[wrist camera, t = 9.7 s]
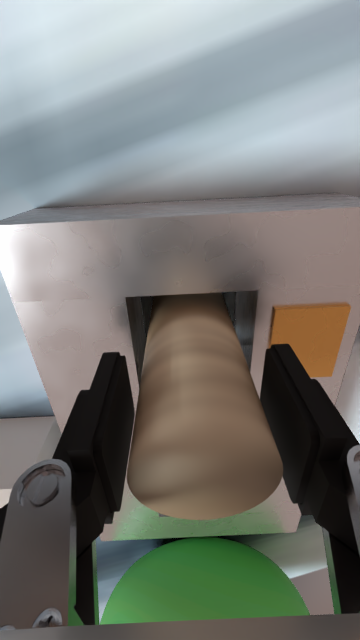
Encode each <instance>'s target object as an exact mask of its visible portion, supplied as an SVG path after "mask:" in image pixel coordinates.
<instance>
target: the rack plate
mask: <svg viewBox="0 0 360 640" xmlns="http://www.w3.org/2000/svg"><path fill="white" fill-rule="evenodd" d="M0 269H1V272H2V275H3V277H4V280H5V283H6V286H7V288H8V291H9V294H10V296H11V299H12V302H13V304H14V307H15V310H16V312H17V315H18V318H19V321H20V323H21V326H22V329H23V331H24V334H25V337H26V339H27V342H28V345H29V347H30V350H31V353H32V356H33V358H34V361H35V364H36V366H37V369H38V372H39V374H40V377H41V380H42V382H43V385H44V388H45V391H46V393H47V396H48V399H49V401H50V404H51V407H52V409H53V412H54V415H55V417H56V420H57V423H58V426H59V428H60V431H61V434H62V433H63V430H64V428H65V425H66V423H67V420H68V418H69V415H70V413H71V410H72V408H73V406H74V403H75V401H76V398H77V396H78V394H79V392H80V391H81V390H89V389H90V386H91V384H92V381H93V378H94V376H95V373H96V370H97V367H98V365H99V362H100V359H101V356H102V354H103V353H104V352H119V353H120V356H123V355H125V357H126V362H127V368H128V374H129V379H130V385H131V391H132V397H133V402H134V409H135V415H136V408H137V401H138V395H139V388H140V381H141V375H142V368H143V361H144V354H145V348H146V335H145V327H144V319H143V311H142V303H141V296H157V295H177V294H197V293H217V292H236V307H235V324H234V329H235V332H236V335H237V337H238V340H239V343H240V346H241V348H242V351H243V354H244V357H245V360H246V362H247V365H248V368H249V371H250V374H251V376H252V379H253V382H254V385H255V387H256V390H257V393H258V396H259V399H260V392H261V384H262V376H263V368H264V360H265V352H266V349H267V348H271V345H272V344H289V345H290V346H291V348H292V349H293V351H294V353H295V354H296V356H297V357H298V359H299V361H300V362H301V364H302V365H303V367H304V369H305V370H306V372H307V373H308V375H309V377H310V378H311V379H316V380H317V381H318V382H319V383H320V384H321V386H322V387H323V389H324V390H325V392H326V393H327V395H328V397H329V398H330V400H331V401H332V403H333V404H334V406H335V403H336V400H337V397H338V393H339V390H340V387H341V384H342V380H343V377H344V374H345V371H346V367H347V364H348V361H349V357H350V354H351V351H352V348H353V344H354V341H355V338H356V335H357V331H358V328H359V325H360V197H355V196H350V195H345V194H340V193H326V194H306V195H287V196H267V197H248V198H229V199H209V200H190V201H170V202H151V203H132V204H112V205H93V206H73V207H54V208H35V209H32V210H29V211H26V212H23V213H20V214H17V215H15V216H12V217H9V218H6V219H3V220H0ZM134 421H135V417H134ZM133 428H134V424H133ZM132 435H133V431H132ZM131 442H132V438H131ZM130 448H131V444H130ZM129 455H130V451H129ZM128 462H129V457H128ZM127 468H128V464H127ZM300 517H301V512H300V509H299V506H298V504H293V503H292V501H291V499H290V497H289V494H288V491H287V488H286V485H285V482H284V479H283V476H282V479H281V482H280V484H279V485H278V487H277V489H276V490H275V491H274V492H273V494H272V495H270V496H269V497H268V498H267V499H266V500H265V501H263V502H262V503H260V504H259V505H257V506H255V507H254V508H251V509H249V510H247V511H245V512H242V513H240V514H236V515H233V516H229V517H224V518H219V519H210V520H188V519H180V518H175V517H170V516H167V515H163V514H160V513H158V512H155V511H153V510H151V509H149V508H148V507H146V506H145V505H143V504H142V503H141V502H139V501H138V500H137V499H136V498H135V496H134V495H133V494H132V492H131V491H130V489H129V486H128V483H127V471H126V477H125V484H124V490H123V497H122V504H121V509H120V511H119V512H114V517H113V523H112V524H104V529H103V532H102V533H101V534H100V535H99V536H100V539H101V541H113V540H136V539H158V538H180V537H203V536H225V535H247V534H270V533H292V532H296V530H297V527H298V524H299V520H300Z"/></svg>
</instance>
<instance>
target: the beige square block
mask: <svg viewBox="0 0 360 640" xmlns="http://www.w3.org/2000/svg"><path fill="white" fill-rule="evenodd" d="M61 435H62V434H61V431H60V428H59V426H58V423H57V420H56V417H55V416H48V417H27V418H6V419H0V508H2V507H3V506H4V505H6V504H7V503H8V502H9V498H10V493H11V491H12V488H13V485H14V484H15V482H16V481H17V479H18V478H19V477H20V476H21V475H22V474H23V473H24V472H25V471H26V470H27V469H28V468H30V467H31V466H33V465H34V464H36V463H38V462H41V461H43V460H48V459H52V457H53V455H54V452H55V450H56V447H57V445H58V442H59V440H60V437H61Z"/></svg>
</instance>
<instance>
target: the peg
mask: <svg viewBox="0 0 360 640" xmlns="http://www.w3.org/2000/svg"><path fill="white" fill-rule="evenodd" d="M282 476H283V463H282V460H281V457H280V454H279V452H278V449H277V446H276V443H275V440H274V438H273V435H272V432H271V429H270V426H269V424H268V421H267V418H266V415H265V413H264V410H263V407H262V404H261V401H260V399H259V396H258V393H257V390H256V387H255V385H254V382H253V379H252V376H251V374H250V371H249V368H248V365H247V362H246V360H245V357H244V354H243V351H242V348H241V346H240V343H239V340H238V337H237V335H236V332H235V329H234V326H233V323H232V321H231V318H230V315H229V312H228V309H227V307H226V304H225V301H224V298H223V296H222V293H221V292H217V293H197V294H177V295H157V296H154V297H153V301H152V308H151V314H150V321H149V328H148V334H147V341H146V348H145V354H144V361H143V368H142V375H141V381H140V388H139V395H138V401H137V408H136V415H135V421H134V428H133V435H132V442H131V448H130V455H129V462H128V468H127V483H128V486H129V489H130V491H131V492H132V494H133V495H134V496H135V498H136V499H137V500H138V501H139V502H141V503H142V504H143V505H145V506H146V507H148V508H149V509H151V510H153V511H155V512H158V513H160V514H163V515H167V516H170V517H175V518H180V519H188V520H210V519H219V518H224V517H229V516H233V515H236V514H240V513H242V512H245V511H247V510H249V509H251V508H254V507H255V506H257V505H259V504H260V503H262V502H263V501H265V500H266V499H267V498H268V497H269V496H270V495H272V494H273V492H274V491H275V490H276V489H277V487H278V485H279V484H280V482H281V479H282Z"/></svg>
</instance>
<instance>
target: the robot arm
mask: <svg viewBox="0 0 360 640" xmlns="http://www.w3.org/2000/svg"><path fill="white" fill-rule="evenodd" d="M260 401H261V404H262V407H263V410H264V413H265V415H266V418H267V421H268V424H269V426H270V429H271V432H272V435H273V438H274V440H275V443H276V446H277V449H278V452H279V454H280V457H281V460H282V463H283V479H284V482H285V485H286V488H287V491H288V494H289V497H290V499H291V501H292V503H293V504H298V506H299V509H300V512H301V515H313V517H314V519H315V522H316V523H318V524H319V525H320V526H322V530H323V537H324V544H325V551H326V558H327V565H328V572H329V579H330V586H331V592H332V600H333V607H334V614H330V615H302V616H279V617H255V618H232V619H209V620H187V621H164V622H144V623H123V624H103V625H99V607H98V585H97V563H96V540H95V539H96V538H97V537H98V536H99V535H100V534H101V533H102V532H103V529H104V524H112V523H113V517H114V512H119V511H120V509H121V504H122V497H123V490H124V484H125V477H126V471H127V464H128V457H129V451H130V444H131V438H132V431H133V424H134V417H135V409H134V402H133V397H132V391H131V385H130V379H129V374H128V368H127V362H126V357H125V355H123V356H120V353H119V352H104V353H103V354H102V356H101V359H100V362H99V365H98V367H97V370H96V373H95V376H94V378H93V381H92V384H91V386H90V389H89V390H81V391H80V392H79V394H78V396H77V398H76V401H75V403H74V406H73V408H72V410H71V413H70V415H69V418H68V420H67V423H66V425H65V428H64V430H63V433H62V435H61V437H60V440H59V442H58V445H57V447H56V450H55V452H54V455H53V457H52V459H48V460H43V461H41V462H38V463H36V464H34V465H33V466H31V467H30V468H28V469H27V470H26V471H25V472H24V473H23V474H22V475H21V476H20V477H19V478H18V479H17V481H16V482H15V484H14V485H13V488H12V491H11V493H10V498H9V502H8V503H7V504H6V505H4V506H3V507H2V508H0V640H360V444H359V443H358V441H357V439H356V438H355V436H354V435H353V433H352V432H351V430H350V429H349V427H348V426H347V424H346V423H345V421H344V420H343V418H342V416H341V415H340V413H339V412H338V410H337V409H336V407H335V406H334V404H333V403H332V401H331V400H330V398H329V397H328V395H327V393H326V392H325V390H324V389H323V387H322V386H321V384H320V383H319V382H318V381H317V380H316V379H311V378H310V377H309V375H308V373H307V372H306V370H305V369H304V367H303V365H302V364H301V362H300V361H299V359H298V357H297V356H296V354H295V353H294V351H293V349H292V348H291V346H290V345H289V344H272V345H271V348H267V349H266V352H265V360H264V368H263V376H262V384H261V392H260Z"/></svg>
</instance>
